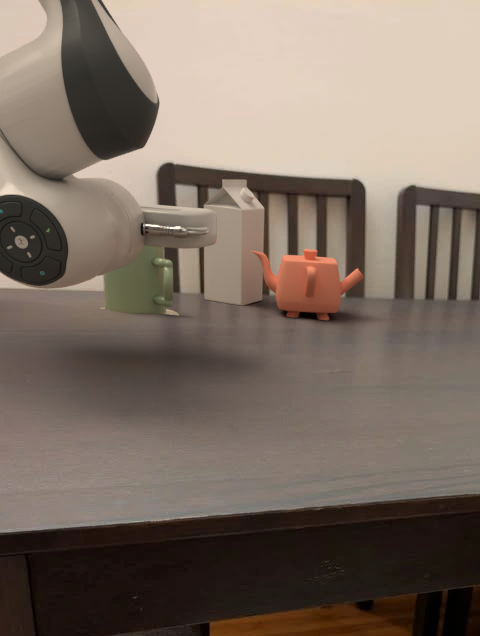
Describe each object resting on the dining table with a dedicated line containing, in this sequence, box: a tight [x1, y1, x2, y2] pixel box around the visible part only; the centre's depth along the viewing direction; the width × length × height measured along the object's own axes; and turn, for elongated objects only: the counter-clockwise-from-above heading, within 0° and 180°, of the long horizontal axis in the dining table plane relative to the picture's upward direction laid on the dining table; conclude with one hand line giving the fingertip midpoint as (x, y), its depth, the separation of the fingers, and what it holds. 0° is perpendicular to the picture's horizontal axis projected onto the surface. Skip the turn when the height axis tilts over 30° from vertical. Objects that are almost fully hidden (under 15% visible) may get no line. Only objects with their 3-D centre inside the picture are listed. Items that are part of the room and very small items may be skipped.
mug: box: [100, 246, 180, 316], centre depth 102 cm, size 13×12×11 cm
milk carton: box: [203, 179, 265, 306], centre depth 119 cm, size 7×7×19 cm
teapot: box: [252, 248, 365, 321], centre depth 115 cm, size 14×12×10 cm
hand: (141, 216), depth 84 cm, fingers closed
